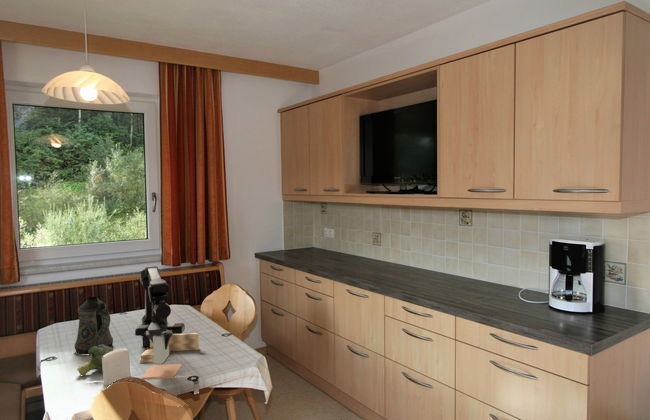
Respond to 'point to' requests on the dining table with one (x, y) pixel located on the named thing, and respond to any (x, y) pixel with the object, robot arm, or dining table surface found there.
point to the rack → (182, 342)
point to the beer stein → (93, 326)
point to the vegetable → (95, 359)
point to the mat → (161, 371)
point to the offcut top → (148, 354)
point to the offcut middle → (146, 360)
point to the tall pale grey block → (160, 348)
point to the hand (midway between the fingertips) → (161, 349)
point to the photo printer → (115, 365)
